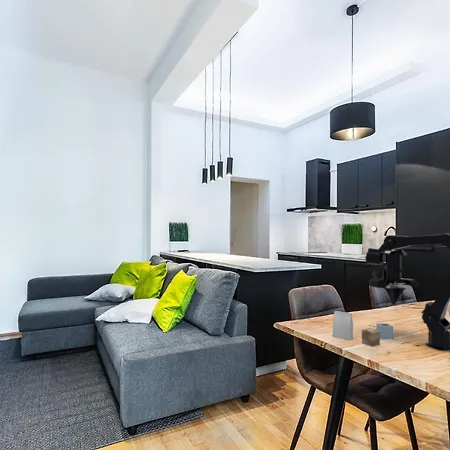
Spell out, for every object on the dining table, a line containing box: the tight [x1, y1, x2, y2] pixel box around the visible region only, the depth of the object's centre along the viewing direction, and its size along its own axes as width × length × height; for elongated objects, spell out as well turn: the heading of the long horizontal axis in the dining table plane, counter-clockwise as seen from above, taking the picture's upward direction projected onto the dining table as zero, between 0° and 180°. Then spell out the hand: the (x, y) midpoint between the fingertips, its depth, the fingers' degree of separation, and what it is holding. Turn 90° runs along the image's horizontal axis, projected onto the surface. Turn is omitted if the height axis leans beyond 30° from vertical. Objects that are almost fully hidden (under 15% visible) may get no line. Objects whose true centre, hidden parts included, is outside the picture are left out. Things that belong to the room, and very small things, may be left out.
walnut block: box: [361, 328, 381, 347], centre depth 123 cm, size 4×4×5 cm
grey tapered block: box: [332, 310, 354, 341], centre depth 130 cm, size 4×7×10 cm, turn 50°
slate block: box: [375, 323, 394, 340], centre depth 131 cm, size 4×4×5 cm
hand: (393, 304), depth 132 cm, fingers closed
